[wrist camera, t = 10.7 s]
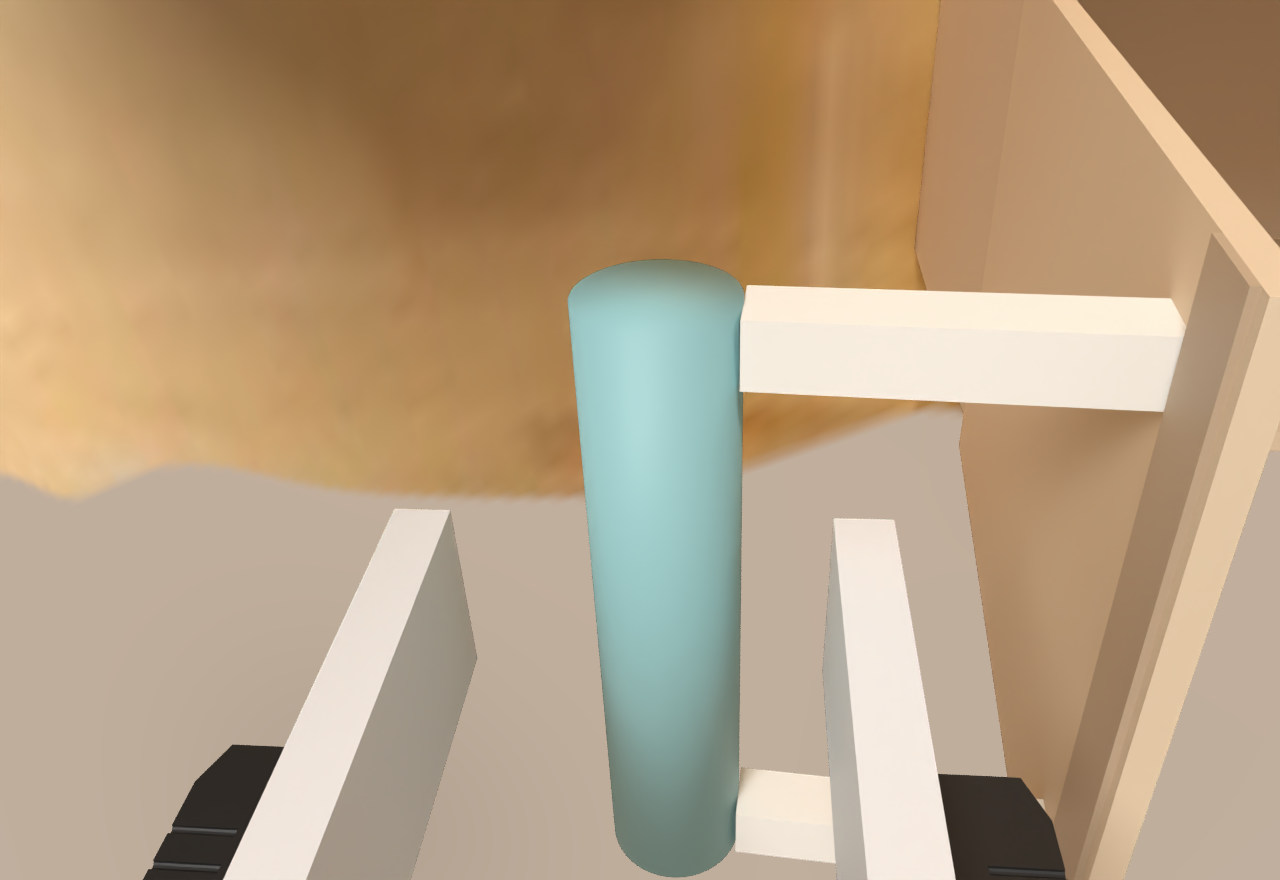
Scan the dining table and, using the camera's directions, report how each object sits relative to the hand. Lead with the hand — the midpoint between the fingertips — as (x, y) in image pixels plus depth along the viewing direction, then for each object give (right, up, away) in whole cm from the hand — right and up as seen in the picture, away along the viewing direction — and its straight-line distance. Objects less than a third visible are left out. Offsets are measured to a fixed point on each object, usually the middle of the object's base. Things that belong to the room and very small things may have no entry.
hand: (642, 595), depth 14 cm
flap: (+7, +3, +4) cm, 9 cm away
